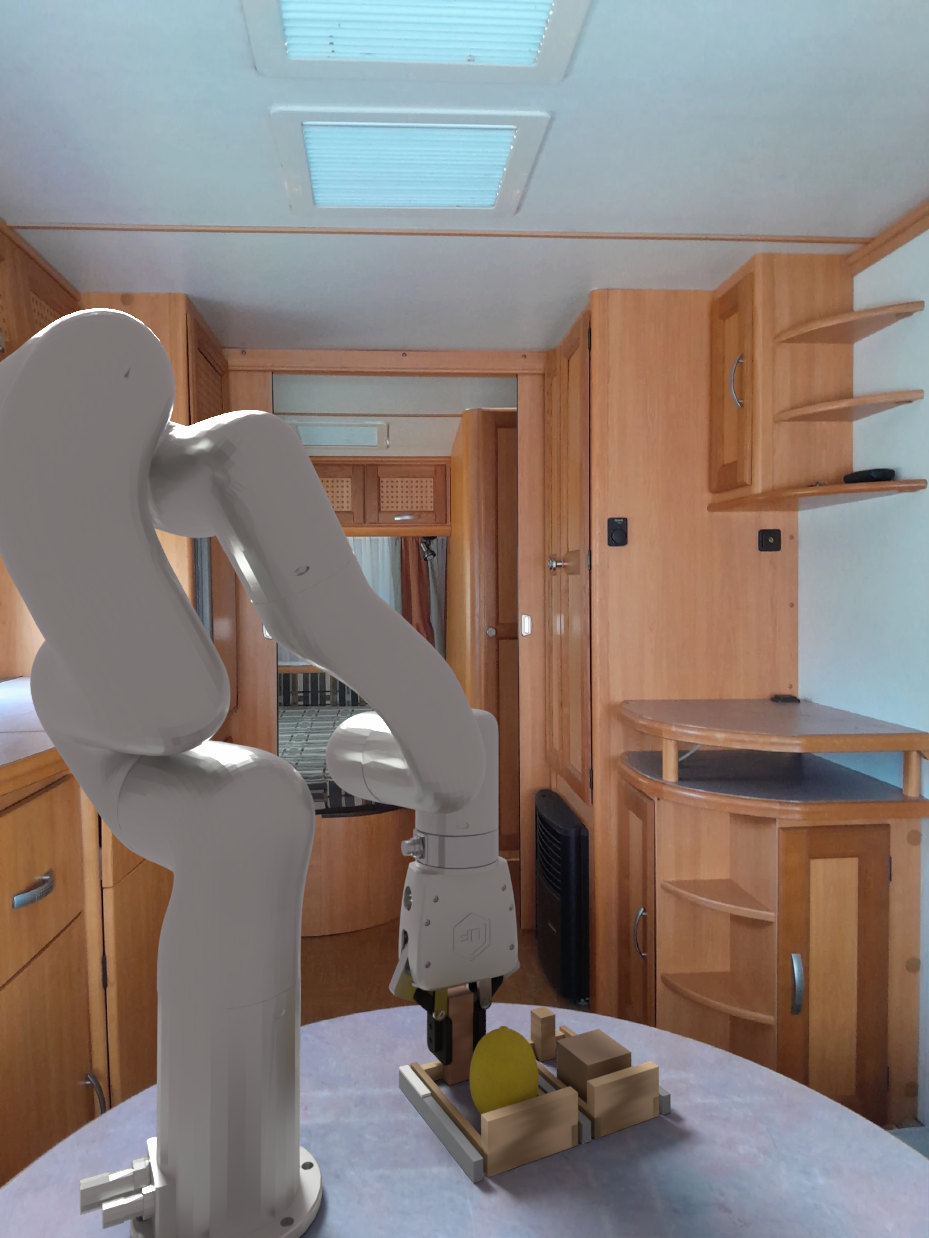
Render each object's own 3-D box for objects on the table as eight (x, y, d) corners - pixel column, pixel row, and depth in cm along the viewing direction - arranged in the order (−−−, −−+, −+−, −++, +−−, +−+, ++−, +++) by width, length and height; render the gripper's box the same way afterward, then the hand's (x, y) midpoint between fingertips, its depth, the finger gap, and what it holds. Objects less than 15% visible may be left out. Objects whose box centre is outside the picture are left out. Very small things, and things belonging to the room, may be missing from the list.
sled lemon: (487, 1177, 58) (487, 1072, 58) (410, 1081, 70) (410, 995, 70) (578, 1144, 61) (577, 1046, 62) (489, 1059, 74) (489, 978, 74)
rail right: (663, 1114, 65) (663, 1096, 65) (581, 1050, 75) (581, 1034, 75) (670, 1112, 66) (670, 1093, 66) (587, 1048, 76) (587, 1032, 76)
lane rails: (473, 1183, 57) (473, 1159, 57) (398, 1086, 69) (398, 1066, 69) (591, 1140, 62) (591, 1118, 62) (502, 1057, 74) (502, 1039, 74)
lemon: (538, 1109, 66) (538, 1012, 66) (538, 1152, 61) (537, 1046, 61) (472, 1105, 67) (472, 1009, 67) (466, 1147, 61) (466, 1042, 61)
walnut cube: (587, 1121, 65) (587, 1065, 65) (556, 1093, 69) (556, 1040, 69) (631, 1106, 67) (631, 1052, 67) (598, 1079, 71) (598, 1028, 71)
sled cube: (594, 1138, 62) (594, 1087, 62) (507, 1057, 74) (506, 1014, 74) (658, 1115, 65) (658, 1066, 65) (564, 1041, 77) (564, 999, 77)
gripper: (389, 869, 64) (388, 1099, 64) (555, 845, 72) (555, 1051, 71) (357, 848, 71) (356, 1056, 71) (512, 828, 79) (512, 1016, 78)
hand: (456, 1051), depth 71 cm, fingers closed on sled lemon, 2 cm apart
